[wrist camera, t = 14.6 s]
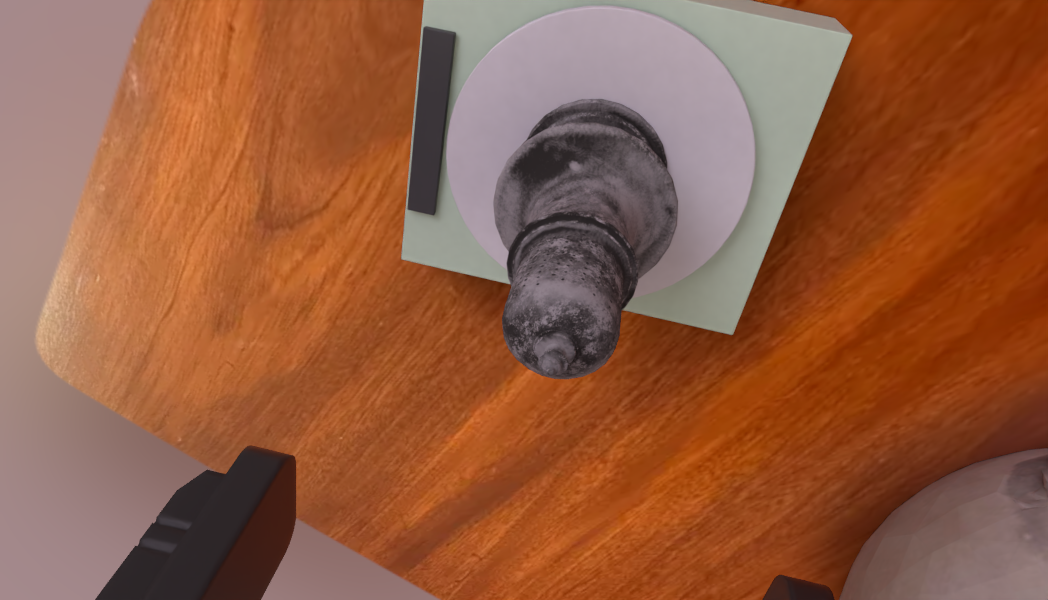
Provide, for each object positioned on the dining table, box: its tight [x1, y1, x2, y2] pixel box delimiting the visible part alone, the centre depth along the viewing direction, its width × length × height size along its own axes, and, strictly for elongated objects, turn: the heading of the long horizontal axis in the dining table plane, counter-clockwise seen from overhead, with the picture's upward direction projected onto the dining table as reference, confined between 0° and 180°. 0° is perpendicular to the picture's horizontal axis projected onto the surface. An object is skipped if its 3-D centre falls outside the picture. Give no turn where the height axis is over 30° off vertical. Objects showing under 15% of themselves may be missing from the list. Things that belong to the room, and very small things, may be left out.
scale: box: [401, 0, 852, 335], centre depth 28 cm, size 14×12×4 cm
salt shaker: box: [493, 99, 678, 379], centre depth 21 cm, size 6×6×12 cm
